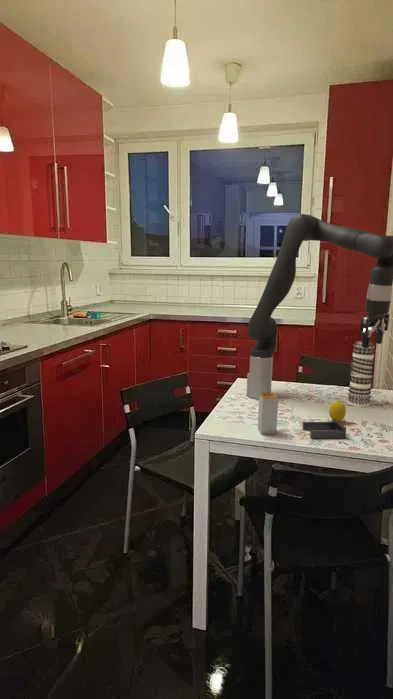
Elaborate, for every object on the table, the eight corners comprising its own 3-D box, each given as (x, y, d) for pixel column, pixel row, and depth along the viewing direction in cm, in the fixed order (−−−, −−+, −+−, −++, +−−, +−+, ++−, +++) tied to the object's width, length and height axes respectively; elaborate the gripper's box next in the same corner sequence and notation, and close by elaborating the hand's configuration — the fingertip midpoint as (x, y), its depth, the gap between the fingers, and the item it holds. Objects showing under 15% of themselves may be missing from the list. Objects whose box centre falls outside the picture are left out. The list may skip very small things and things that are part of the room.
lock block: (261, 434, 146) (263, 396, 144) (257, 429, 151) (259, 392, 149) (276, 434, 147) (278, 396, 145) (272, 428, 152) (274, 392, 149)
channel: (311, 438, 144) (311, 428, 143) (302, 428, 152) (303, 418, 152) (345, 438, 145) (346, 428, 144) (334, 428, 153) (335, 418, 153)
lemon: (342, 426, 156) (344, 403, 154) (326, 423, 159) (328, 401, 157) (346, 421, 160) (348, 400, 159) (330, 418, 163) (332, 397, 162)
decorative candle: (341, 402, 183) (347, 341, 179) (355, 398, 189) (360, 339, 184) (361, 408, 176) (367, 344, 172) (375, 404, 182) (381, 342, 177)
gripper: (379, 294, 157) (372, 339, 161) (356, 298, 148) (350, 346, 152) (400, 297, 151) (392, 344, 156) (378, 301, 142) (370, 351, 147)
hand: (371, 345), depth 154 cm, fingers open, 8 cm apart
